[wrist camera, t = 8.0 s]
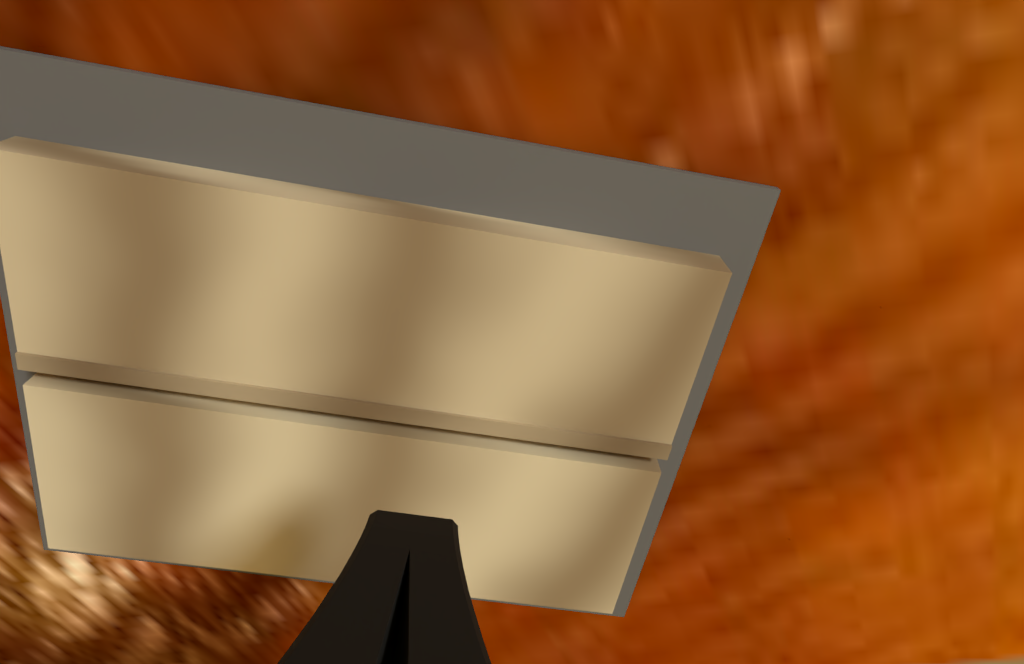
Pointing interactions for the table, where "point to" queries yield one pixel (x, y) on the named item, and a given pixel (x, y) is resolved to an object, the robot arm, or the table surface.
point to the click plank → (326, 490)
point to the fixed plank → (347, 301)
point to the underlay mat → (391, 187)
